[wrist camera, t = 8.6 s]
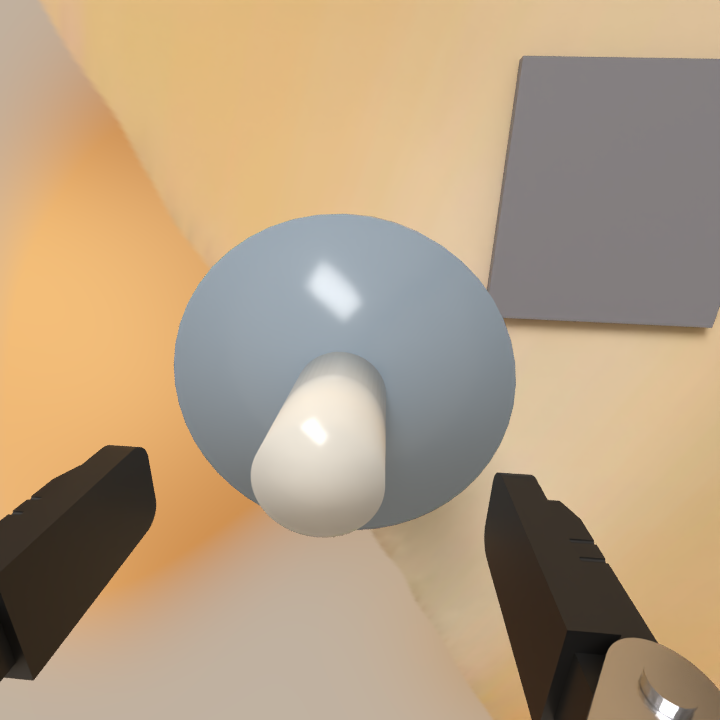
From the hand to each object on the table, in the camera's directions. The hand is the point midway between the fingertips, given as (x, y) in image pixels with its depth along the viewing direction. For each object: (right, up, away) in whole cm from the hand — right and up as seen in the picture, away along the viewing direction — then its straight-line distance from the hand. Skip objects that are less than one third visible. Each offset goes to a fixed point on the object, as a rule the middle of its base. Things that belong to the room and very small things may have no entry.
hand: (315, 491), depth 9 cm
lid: (0, +2, +6) cm, 7 cm away
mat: (+16, +12, +14) cm, 25 cm away
